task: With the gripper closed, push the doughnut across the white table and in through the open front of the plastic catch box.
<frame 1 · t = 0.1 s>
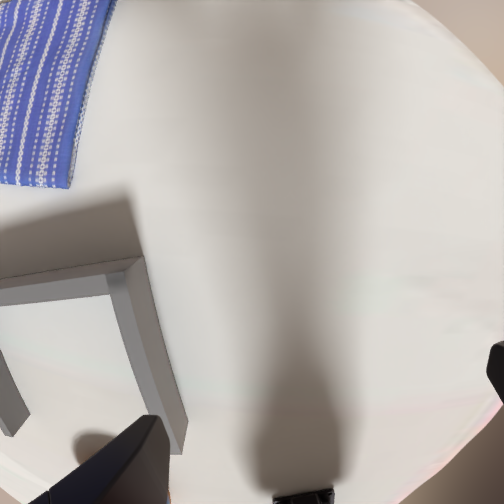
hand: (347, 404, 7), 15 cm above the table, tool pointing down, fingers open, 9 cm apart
catch box: (63, 355, 22), on the table
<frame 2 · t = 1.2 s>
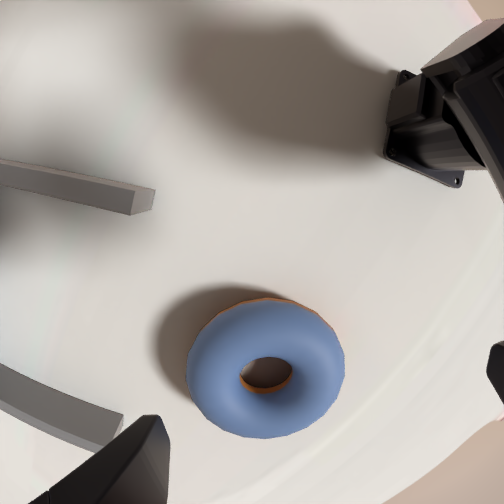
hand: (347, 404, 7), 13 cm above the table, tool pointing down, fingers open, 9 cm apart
catch box: (44, 300, 20), on the table
doughnut: (263, 357, 21), on the table
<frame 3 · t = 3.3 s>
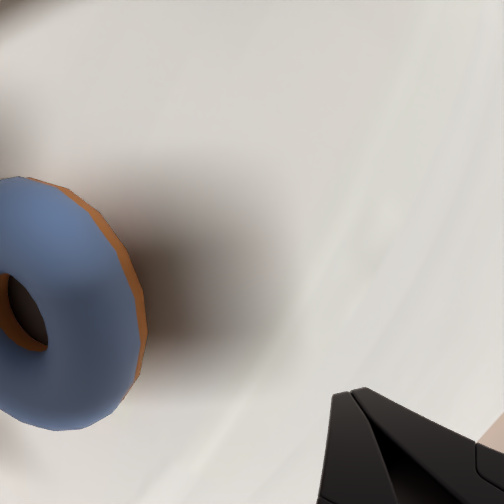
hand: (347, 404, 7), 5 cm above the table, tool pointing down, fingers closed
doughnut: (50, 295, 12), on the table
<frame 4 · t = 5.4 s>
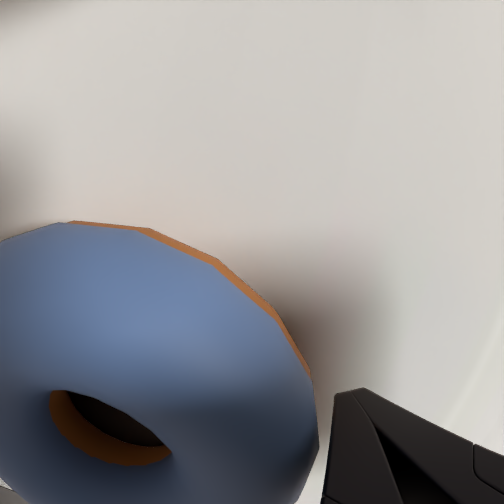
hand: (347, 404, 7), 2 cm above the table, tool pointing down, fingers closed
doughnut: (132, 381, 9), on the table, touching gripper
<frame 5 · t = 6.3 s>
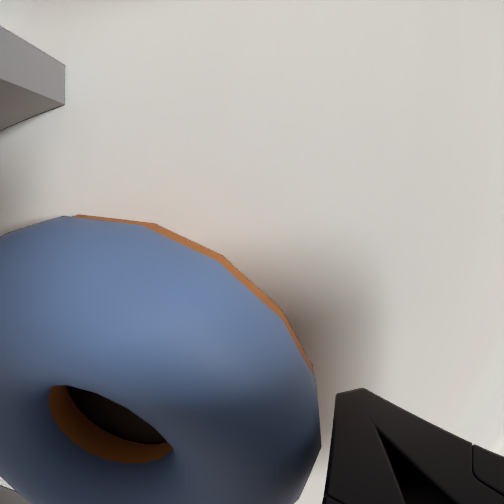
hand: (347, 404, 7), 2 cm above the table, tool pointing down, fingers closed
doughnut: (133, 378, 9), on the table, touching gripper
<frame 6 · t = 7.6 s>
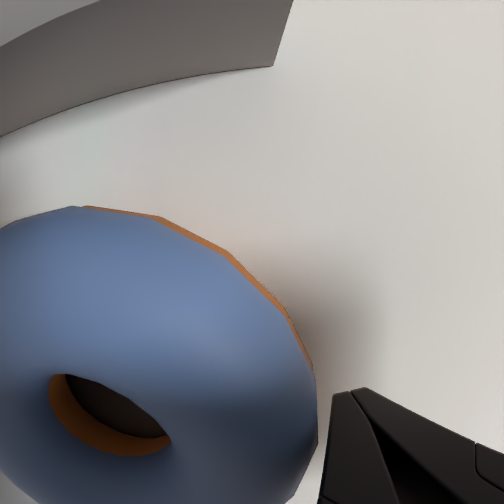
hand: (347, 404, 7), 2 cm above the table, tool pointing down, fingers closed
catch box: (79, 392, 8), on the table
doughnut: (132, 371, 9), on the table
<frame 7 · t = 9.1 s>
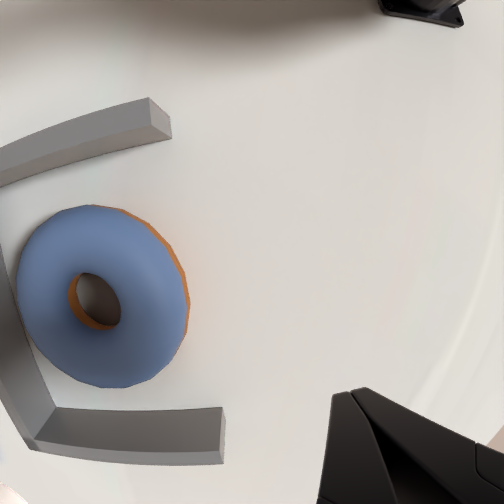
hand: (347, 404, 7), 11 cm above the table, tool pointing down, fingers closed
catch box: (83, 302, 17), on the table
cylindrical container: (11, 496, 23), on the table
doughnut: (111, 288, 17), on the table
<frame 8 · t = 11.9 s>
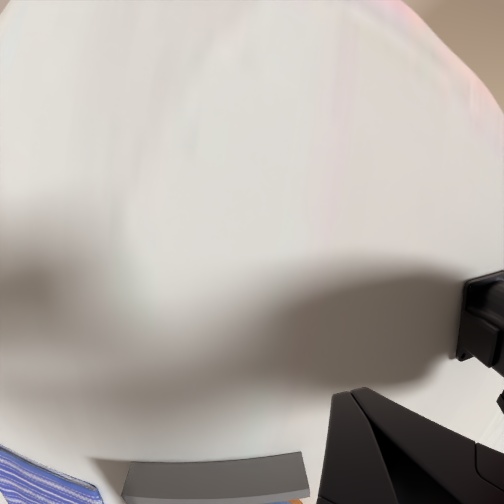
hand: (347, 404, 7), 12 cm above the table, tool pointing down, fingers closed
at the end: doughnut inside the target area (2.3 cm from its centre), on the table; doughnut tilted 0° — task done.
